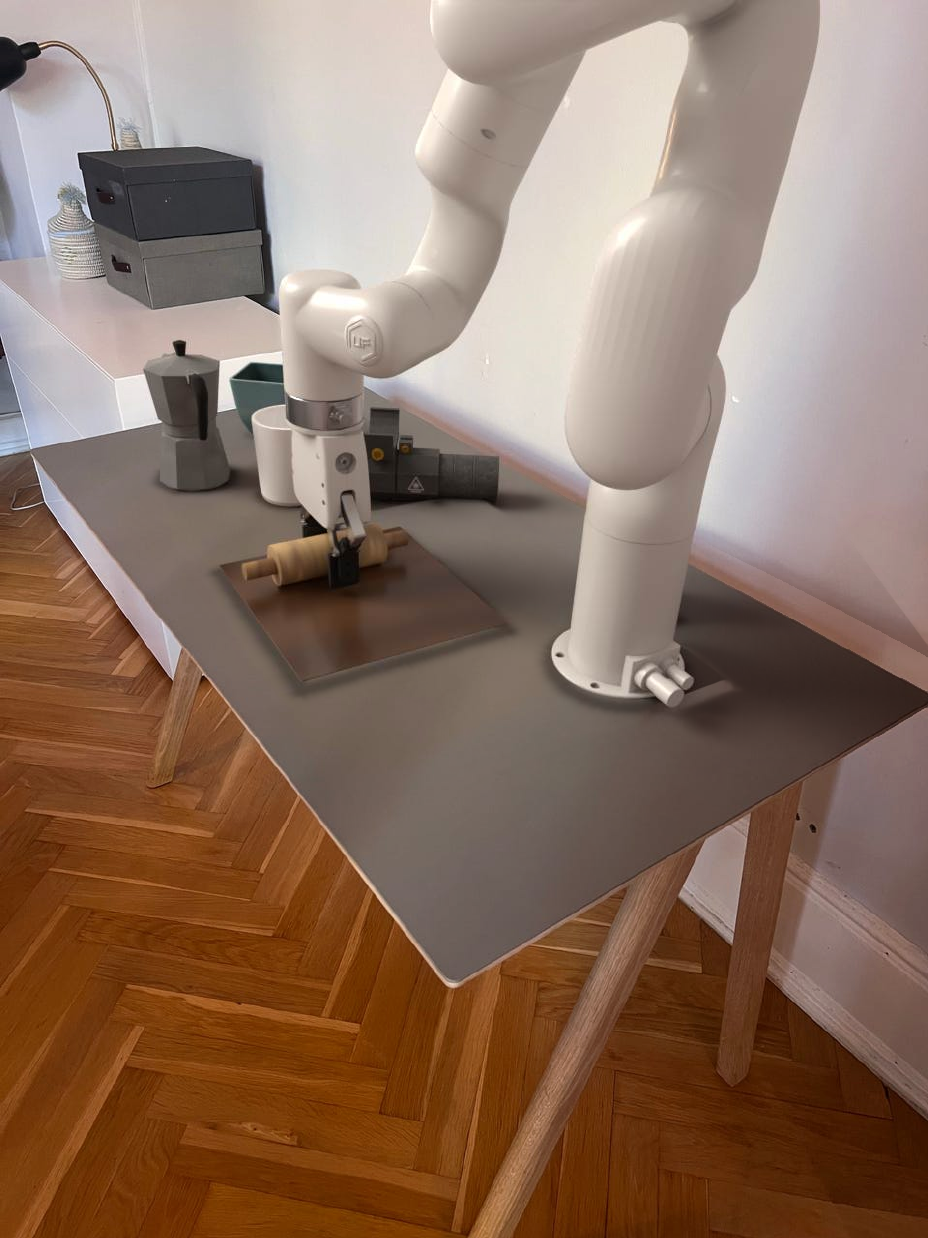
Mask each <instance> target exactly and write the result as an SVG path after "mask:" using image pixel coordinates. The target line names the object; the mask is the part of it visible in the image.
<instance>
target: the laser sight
mask: <svg viewBox="0 0 928 1238" xmlns="http://www.w3.org/2000/svg"><path fill="white" fill-rule="evenodd" d="M400 409H401V408H399V407H398V408H397V407H379V406H378V407H377V406H372V407H371V406H370V408H369V425H368V426H369V427H368V432H363V435H364V440H365V446H366V453H367V461H368V471H369V484H370V500H371V499H373V500H394V501H411V502H412V501H415V502H426V501H430V500H436V499H439V498H460V499H461V498H464V499H467V498H468V499H481V500H489V501H491V500H493V501H497V500H498V493H499V478H500V477H499V476H500V475H499V474H500V456H499V455H483V454H482V455H481V454H480V455H479V454H460V453H459V454H458V453H441V449H440V448H432V447H430V448H429V447H414V435H411V434H409V435H408V434H400V414H401V413H400V411H401V410H400Z"/></svg>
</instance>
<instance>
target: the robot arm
mask: <svg viewBox="0 0 928 1238" xmlns="http://www.w3.org/2000/svg"><path fill="white" fill-rule="evenodd" d="M429 12H430V13H429V14H430V15H429V20H430V31H431V36H432V39H433V43H434V46H435V49H436V50H437V52H438V54H439V56H440V58H441V60H442V62H443V63H444V64H445V66H446V67H447V70H446V73H445V75H444V78H443V80H442V82H441V85H440V87H439V89H438V92H437V93H436V94H437V95H436V97H435V100H434V102H433V104H432V106H431V109H430V111H429V113H428V116H427V118H426V121H425V123H424V125H423V128H422V129H421V132H420V135H419V137H418V139H417V141H416V145H415V152H414V154H415V155H414V158H415V164H416V166H417V168H418V170H419V171H420V173H421V174H422V176H423V177H424V178H425V180H427V181H428V183H429V185H430V189H431V193H432V195H431V197H432V202H431V203H432V206H431V212H430V216H429V221H428V224H427V227H426V229H425V232H424V235H423V238H422V240H421V242H420V244H419V247H418V248H417V251H416V252H415V255H414V257H413V259H412V262H411V264H410V265H409V268H408V270H407V271H406V273H405V274H404V275H401V276H400V275H399V276H398V277H396V278H395V277H394V278H392V279H390V280H387V281H384V282H382V283H379V284H375V285H371V286H367V287H364V288H362V286H361V284H360V282H359V280H358V279H357V278H356V277H354V276H353V275H352V274H349V273H346V272H343V271H339V270H333V269H319V268H317V269H316V268H315V269H313V268H312V269H303V270H298V271H297V270H296V271H294V272H290V273H288V274H287V275H286V276H284V277H283V279H282V280H281V281H280V284H279V287H278V306H279V307H278V308H279V325H280V340H281V341H280V343H281V358H282V364H283V376H284V389H285V390H284V392H285V408H286V423H287V426H288V427H289V428H291V429H292V475H293V485H294V491H295V495H296V497H297V499H298V500H299V502H300V503H301V505H302V506H300V507H301V508H300V521H301V523H302V525H301V531H302V532H301V533H302V538H306V537H311V536H316V535H321V534H326V533H328V537H329V542H330V547H331V552H332V553H328V574H329V586H330V587H331V588H332V589H337V588H341V587H345V586H350V585H354V584H357V583H358V582H359V552H360V546H361V543H362V542H363V541H364V539H365V538H366V534H365V531H364V528H363V526H364V525H368V524H369V523H370V522H371V520H372V508H371V505H372V503H371V499H370V484H369V471H368V461H367V453H366V446H365V440H364V435H363V433H364V430H363V429H362V427H363V426H364V425H365V377H367V378H371V379H378V380H383V379H391V378H394V377H397V376H399V375H401V374H403V373H405V372H407V371H409V370H411V369H413V368H414V367H417V366H418V365H420V364H421V363H423V362H424V361H427V360H428V359H430V358H432V357H434V356H436V355H438V354H440V353H442V352H444V351H445V350H447V349H448V348H449V347H450V346H451V345H452V344H454V343H455V342H456V340H458V338H459V337H460V336H461V334H462V333H463V332H464V330H465V329H466V327H467V325H468V324H469V321H470V320H471V319H472V317H473V314H474V313H475V310H476V309H477V306H478V305H479V303H480V301H481V299H482V297H483V295H484V293H485V292H486V289H487V287H488V286H489V283H490V281H491V279H492V277H493V275H494V273H495V271H496V268H497V266H498V263H499V260H500V257H501V254H502V250H503V246H504V242H505V237H506V234H507V230H508V226H509V222H510V213H511V212H510V211H511V206H512V203H513V201H514V198H515V195H516V193H517V191H518V189H519V187H520V185H521V183H522V181H523V179H524V177H525V175H526V173H527V171H528V169H529V167H530V165H531V162H532V161H533V158H534V157H535V155H536V153H537V151H538V149H539V147H540V145H541V143H542V141H543V139H544V137H545V134H546V133H547V131H548V128H549V127H550V125H551V123H552V121H553V119H554V117H555V115H556V113H557V112H558V109H559V108H560V106H561V104H562V102H563V99H564V98H565V96H566V93H567V92H568V90H569V87H570V86H571V83H572V82H573V80H574V77H575V75H576V74H577V71H578V70H579V67H580V66H581V63H582V61H583V60H584V57H585V55H586V53H587V51H589V50H591V49H592V48H595V47H598V46H600V45H603V44H604V43H607V42H609V41H612V40H614V39H616V38H620V37H621V36H624V35H627V34H628V33H631V32H634V31H637V30H639V29H641V28H644V27H646V26H649V25H652V24H654V23H658V22H663V23H670V24H678V25H680V26H681V27H682V28H683V29H684V30H685V31H686V34H687V39H688V51H687V60H686V63H685V68H684V70H683V74H682V76H681V79H680V82H679V85H678V88H677V90H676V94H675V97H674V100H673V104H672V108H671V112H670V115H669V118H668V124H667V129H666V135H665V140H664V145H663V148H662V153H661V157H660V161H659V165H658V169H657V172H656V176H655V179H654V183H653V186H652V189H651V192H650V194H649V196H648V197H646V198H645V199H643V200H641V201H639V202H638V203H637V204H635V205H633V207H631V208H630V209H628V211H627V212H625V213H624V214H623V215H622V216H621V217H620V219H619V220H618V221H617V222H616V223H615V225H614V226H613V227H612V229H611V230H610V232H609V234H607V235H608V236H607V237H606V239H605V241H604V243H603V245H602V247H601V250H600V252H599V254H598V256H597V257H598V258H597V260H596V262H595V266H594V269H593V273H592V276H591V280H590V285H589V289H588V294H587V299H586V304H585V308H584V312H583V313H584V314H583V317H582V322H581V323H582V324H581V327H580V332H579V336H578V342H577V346H576V350H575V355H574V361H573V366H572V370H571V374H570V380H569V384H568V389H567V393H566V394H567V395H566V401H565V407H564V433H565V438H566V444H567V446H568V449H569V451H570V453H571V454H570V455H571V456H572V458H573V459H574V462H575V463H576V465H577V466H578V467H579V468H580V470H581V471H582V472H583V473H584V474H585V475H586V476H587V477H588V478H589V485H588V491H587V498H586V505H585V511H584V516H583V525H582V526H583V527H582V533H581V534H582V535H581V541H580V550H579V557H578V566H577V574H576V582H575V591H574V598H573V604H572V605H573V606H572V614H571V623H570V628H568V629H567V630H565V631H563V632H562V633H560V635H558V636H557V638H556V639H555V640H554V641H553V644H552V647H551V652H550V653H551V660H552V663H553V665H554V667H555V669H556V670H557V671H558V672H559V674H560V675H562V677H564V678H565V679H566V680H567V681H569V682H570V683H572V684H573V685H575V686H577V687H579V688H581V689H582V690H585V691H587V692H589V693H593V694H595V695H598V696H603V697H607V698H614V699H623V700H641V699H647V698H654V697H656V698H657V699H658V700H659V701H660V702H662V703H663V704H664V705H665V706H667V707H668V708H671V709H672V708H675V707H677V706H678V705H680V703H681V702H682V701H683V699H684V697H685V691H688V690H689V689H690V688H692V687H693V685H694V682H695V678H694V677H693V676H691V675H690V674H689V673H688V672H686V671H685V669H686V667H685V661H684V659H683V657H682V654H681V653H680V652H681V644H679V643H678V642H676V641H675V640H674V637H675V633H676V628H677V627H676V626H677V621H678V617H679V612H680V606H681V603H682V597H683V592H684V588H685V587H684V586H685V583H686V576H687V572H688V566H689V561H690V556H691V552H692V548H693V547H692V546H693V541H694V537H695V531H696V528H697V524H698V519H699V514H700V513H699V512H700V508H701V504H702V499H703V494H704V490H705V486H706V480H707V477H708V472H709V468H710V465H711V461H712V457H713V453H714V449H715V446H716V442H717V438H718V434H719V431H720V427H721V423H722V418H723V415H724V410H725V405H726V396H727V395H726V394H727V392H726V391H727V386H726V385H727V384H726V382H727V381H726V374H725V370H724V367H723V364H722V362H721V359H720V356H719V355H718V353H719V350H720V347H721V343H722V340H723V337H724V333H725V330H726V327H727V323H728V320H729V318H730V315H731V312H732V310H733V309H734V308H735V307H736V306H737V304H738V303H739V302H740V301H741V300H742V299H743V297H745V295H746V294H747V293H748V291H749V290H750V289H751V286H752V284H753V282H754V281H755V278H756V277H757V274H758V270H759V267H760V263H761V259H762V255H763V250H764V247H765V246H764V245H765V242H766V238H767V234H768V230H769V226H770V223H771V219H772V217H773V216H772V215H773V212H774V209H775V205H776V202H777V200H778V196H779V192H780V189H781V185H782V182H783V178H784V176H785V172H786V168H787V165H788V162H789V158H790V153H791V149H792V145H793V142H794V137H795V135H796V130H797V126H798V123H799V119H800V116H801V113H802V109H803V105H804V102H805V98H806V95H807V91H808V87H809V83H810V80H811V76H812V73H813V68H814V65H815V59H816V55H817V49H818V44H819V43H818V42H819V35H820V28H821V27H820V26H821V25H820V24H821V22H820V21H821V0H430V11H429ZM341 518H342V519H343V520H344V522H339V523H335V521H338V519H341ZM363 524H364V525H363ZM345 529H347V534H346V537H343V538H342V539H341V540H340V541H339V542H338V537H337V532H336V531H341V530H345ZM557 655H561V656H562V657H559V656H557ZM593 686H597V687H593Z"/></svg>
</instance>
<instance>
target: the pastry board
mask: <svg viewBox="0 0 928 1238" xmlns="http://www.w3.org/2000/svg"><path fill="white" fill-rule="evenodd" d="M399 530H404V529H403V527H401V526H396V527H392V528H391V527H390V528H386V529H382V531H383V533H384V534H385V533H390V532H394V531H399ZM406 533H407V535H408V545H406V546H402V547H398V548H393V549H389V550H387V559H386V561H385V562H384V563H380V564H376V565H371V566H367V567H363V568H359V582H358V583H357V584H354V585H350V586H345V587H341V588H337V589H332V588H331V587H330V586H329V575H327V576H323V577H319V578H314V579H310V580H305V581H301V582H297V583H292V584H288V585H283V586H277V585H276V584H275V582H274V580H273V578H272V576H266V577H261V578H257V579H252V580H248V581H246V580H245V579H244V577H243V573H242V564H243V563H248V562H252V561H257V560H262V559H267V554H265V555H260V556H255V557H251V558H246V559H242V560H237V561H232V562H228V563H223V564H219V565H218V566H219V568H220V570H222V572H223V573H224V575H225V576H226V578H227V579H228V580H229V582H230V584H231V585H232V586H233V588H234V589H235V591H236V592H237V593H238V595H239V596H240V598H241V599H242V600H243V602H244V603H245V605H246V606H247V607H248V609H249V610H250V612H251V613H252V614H253V616H254V618H255V619H256V620H257V622H258V623H259V625H260V626H261V628H262V629H263V630H264V632H265V633H266V634H267V636H268V637H269V639H270V640H271V641H272V643H273V644H274V646H275V647H276V649H277V650H278V652H279V653H280V654H281V656H282V657H283V659H284V660H285V661H286V663H287V664H288V665H289V667H290V668H291V670H292V671H293V672H294V674H295V675H296V677H297V678H298V680H299V681H300V682H301V683H303V682H306V681H309V680H313V679H317V678H320V677H323V676H327V675H331V674H334V673H338V672H342V671H346V670H350V669H352V668H355V667H359V666H363V665H366V664H370V663H373V662H378V661H380V660H384V659H387V658H390V657H394V656H399V655H401V654H405V653H409V652H412V651H416V650H419V649H422V648H426V647H430V646H433V645H436V644H440V643H444V642H448V641H451V640H455V639H458V638H462V637H465V636H469V635H472V634H476V633H478V632H483V631H487V630H490V629H494V628H497V627H501V626H504V625H508V622H507V621H506V620H505V619H504V618H503V617H502V616H500V614H498V613H497V612H496V611H495V610H494V609H493V608H492V607H490V606H489V604H487V603H486V602H485V601H483V600H482V598H480V597H479V595H477V594H476V593H475V592H474V591H472V589H470V588H469V587H468V586H467V585H466V584H465V583H464V582H463V581H461V580H460V579H459V578H458V577H457V576H456V575H455V574H453V572H451V571H450V570H449V569H448V568H447V567H446V566H444V565H443V564H442V563H441V562H440V561H439V560H438V559H437V558H436V557H435V556H433V554H431V553H430V552H429V551H428V550H427V549H426V548H425V547H423V546H422V545H421V544H420V543H419V542H418V541H417V540H416V539H414V537H412V535H410V534H409V533H408V532H407V531H406Z"/></svg>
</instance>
